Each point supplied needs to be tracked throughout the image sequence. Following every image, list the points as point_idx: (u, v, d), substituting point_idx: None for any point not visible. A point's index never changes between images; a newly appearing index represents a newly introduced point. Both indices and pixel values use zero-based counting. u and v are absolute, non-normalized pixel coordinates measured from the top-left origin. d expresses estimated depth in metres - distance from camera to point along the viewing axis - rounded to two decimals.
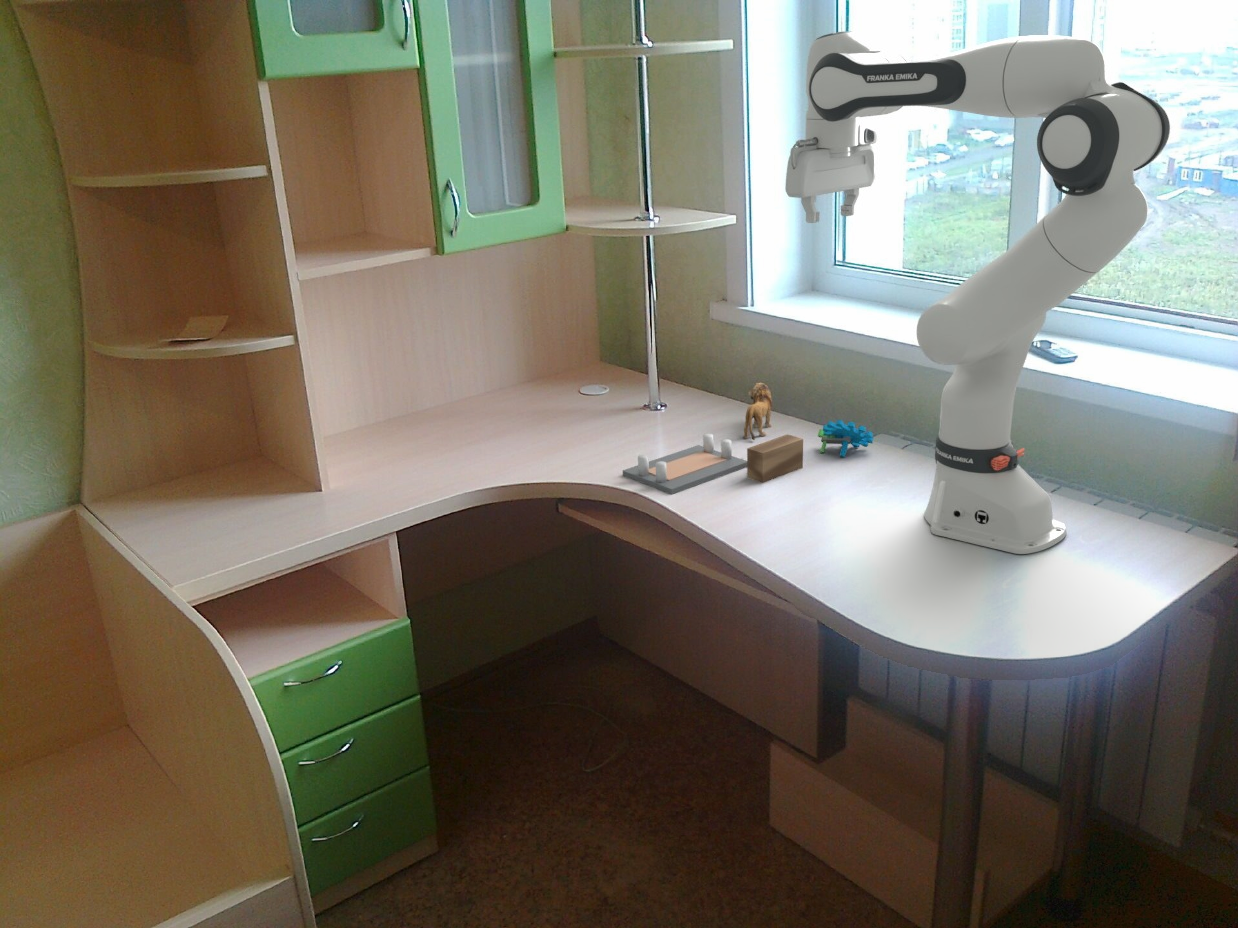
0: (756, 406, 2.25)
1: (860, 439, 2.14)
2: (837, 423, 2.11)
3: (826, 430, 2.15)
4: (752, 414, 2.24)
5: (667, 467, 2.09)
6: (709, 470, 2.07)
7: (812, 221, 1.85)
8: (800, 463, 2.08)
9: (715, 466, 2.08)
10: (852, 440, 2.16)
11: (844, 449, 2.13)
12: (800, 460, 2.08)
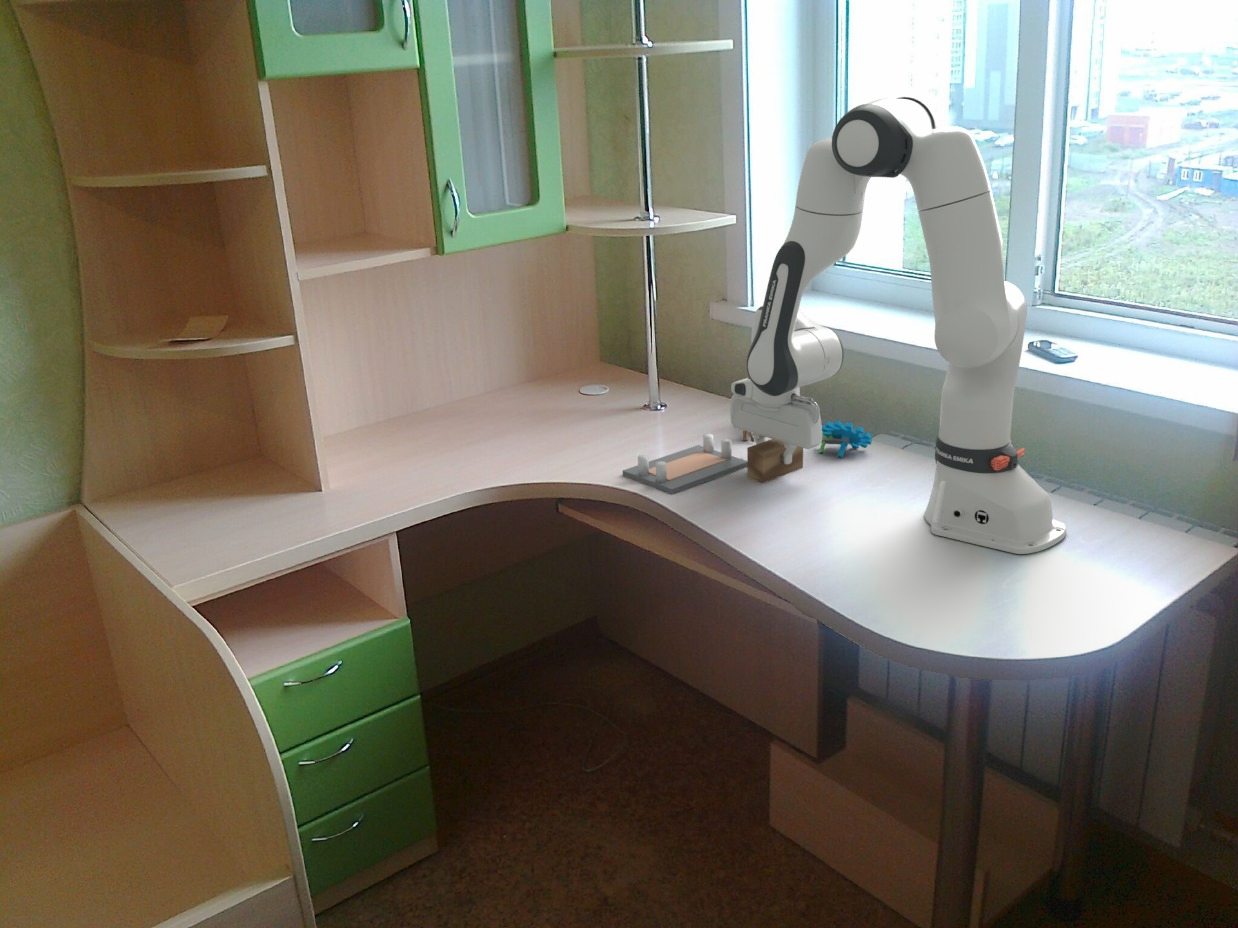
0: None
1: (859, 440, 2.14)
2: (835, 423, 2.11)
3: (825, 430, 2.15)
4: None
5: (667, 467, 2.09)
6: (709, 470, 2.07)
7: (790, 461, 2.04)
8: (800, 462, 2.08)
9: (715, 466, 2.08)
10: (851, 441, 2.15)
11: (842, 450, 2.13)
12: (800, 459, 2.08)
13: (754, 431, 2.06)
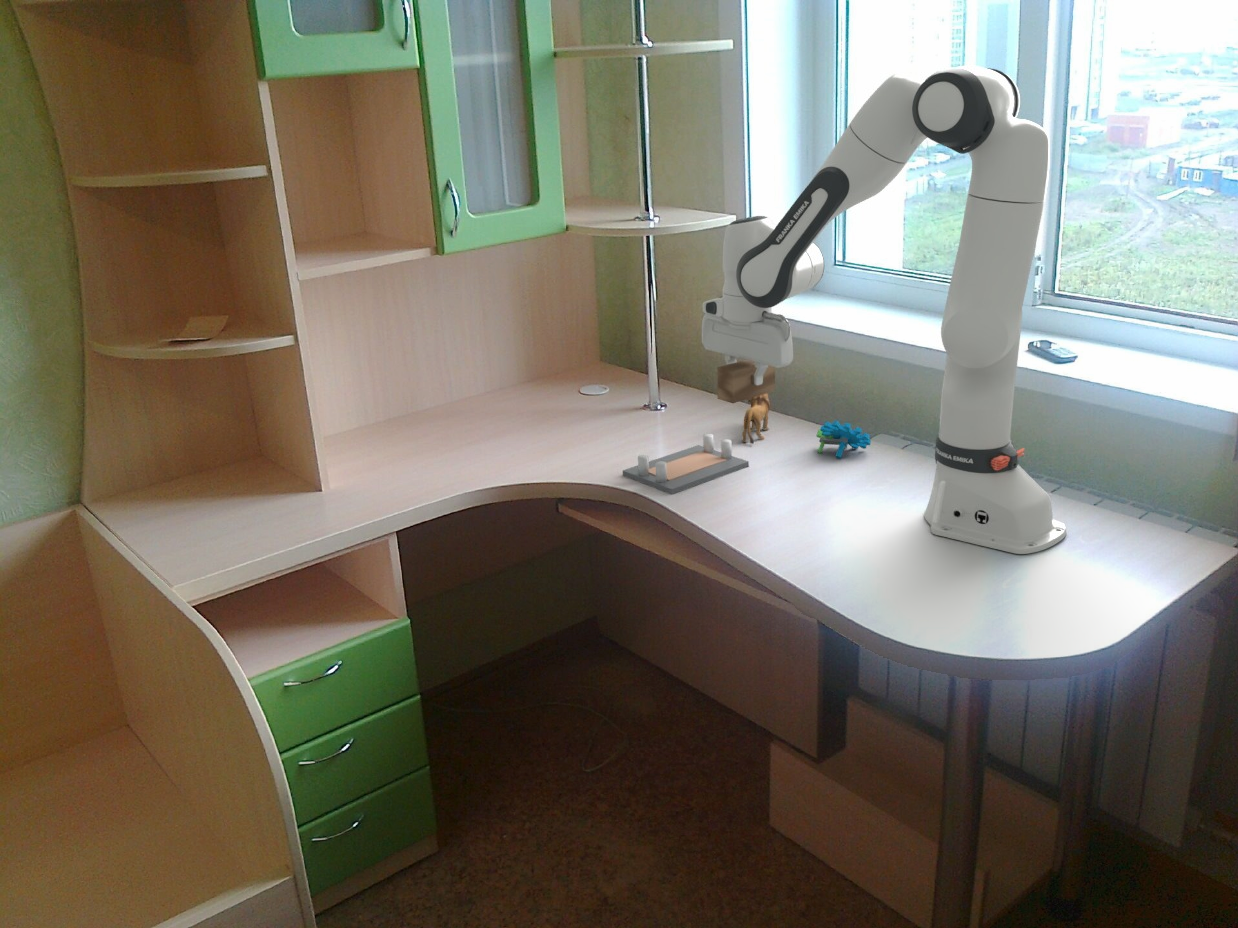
0: (754, 409, 2.23)
1: (857, 440, 2.13)
2: (833, 424, 2.11)
3: (824, 430, 2.15)
4: (751, 417, 2.22)
5: (667, 467, 2.09)
6: (709, 470, 2.07)
7: (761, 382, 2.00)
8: (772, 385, 2.04)
9: (715, 466, 2.08)
10: (850, 441, 2.15)
11: (841, 450, 2.12)
12: (772, 382, 2.04)
13: (725, 352, 2.02)
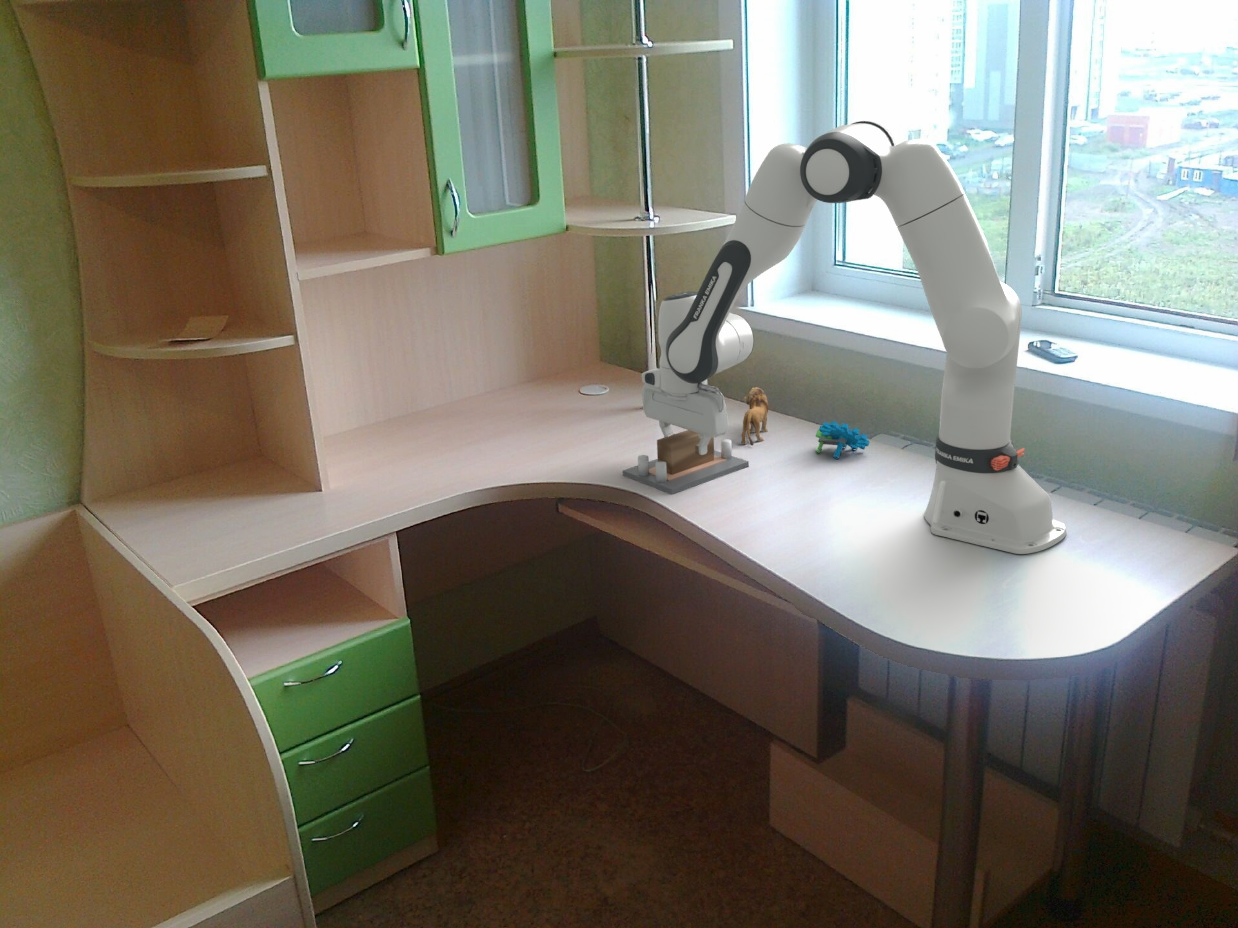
0: (754, 411, 2.22)
1: (856, 441, 2.13)
2: (831, 424, 2.11)
3: (822, 431, 2.15)
4: (750, 419, 2.21)
5: None
6: (709, 470, 2.07)
7: (706, 452, 2.05)
8: (711, 454, 2.11)
9: (715, 466, 2.08)
10: (849, 442, 2.15)
11: (838, 451, 2.12)
12: (711, 452, 2.10)
13: (664, 420, 2.08)
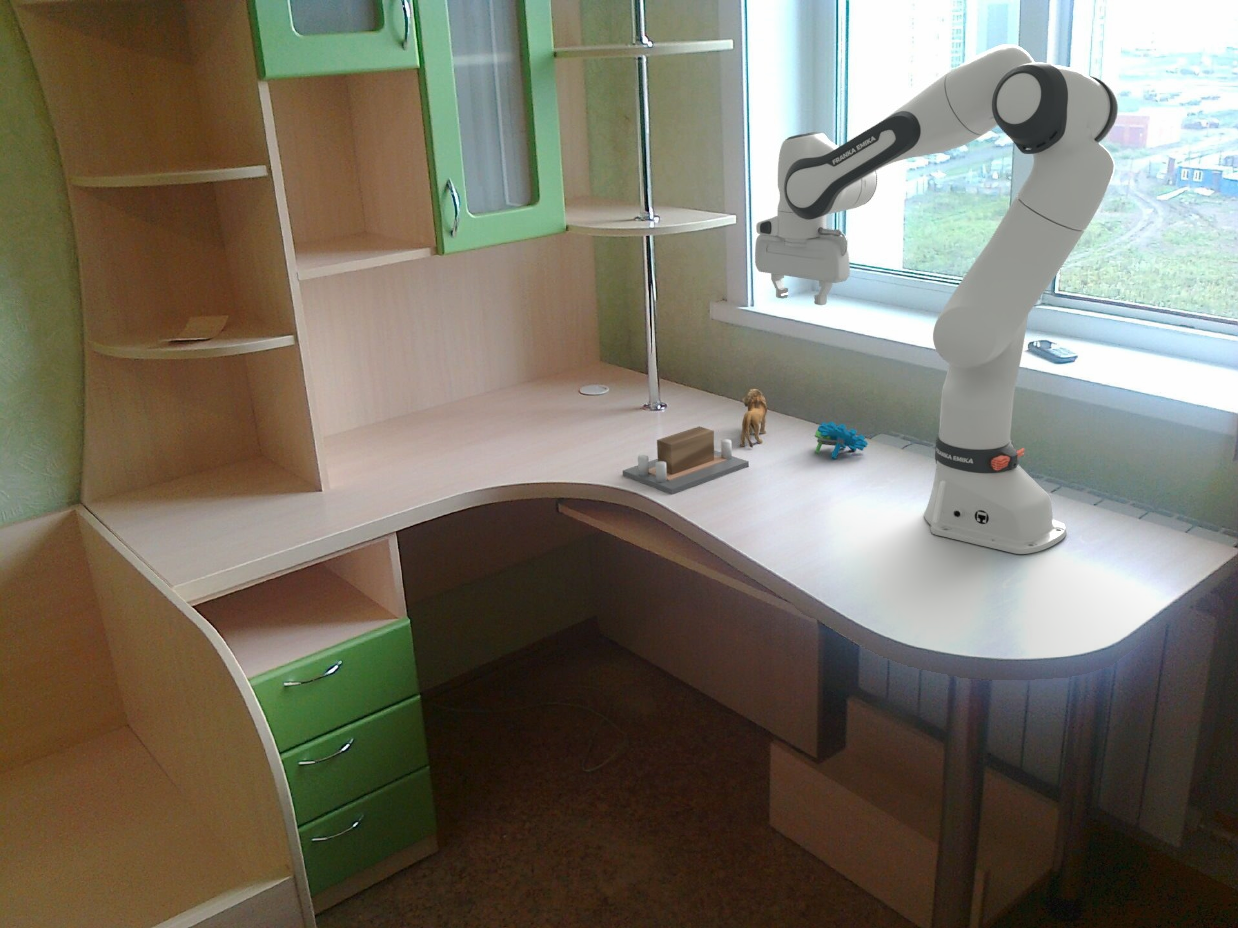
0: (753, 413, 2.21)
1: (854, 442, 2.13)
2: (828, 424, 2.11)
3: (821, 431, 2.15)
4: (749, 421, 2.20)
5: None
6: (709, 470, 2.07)
7: (825, 302, 1.99)
8: (711, 454, 2.11)
9: (715, 466, 2.08)
10: (847, 443, 2.14)
11: (836, 451, 2.12)
12: (711, 452, 2.10)
13: (779, 272, 2.03)
